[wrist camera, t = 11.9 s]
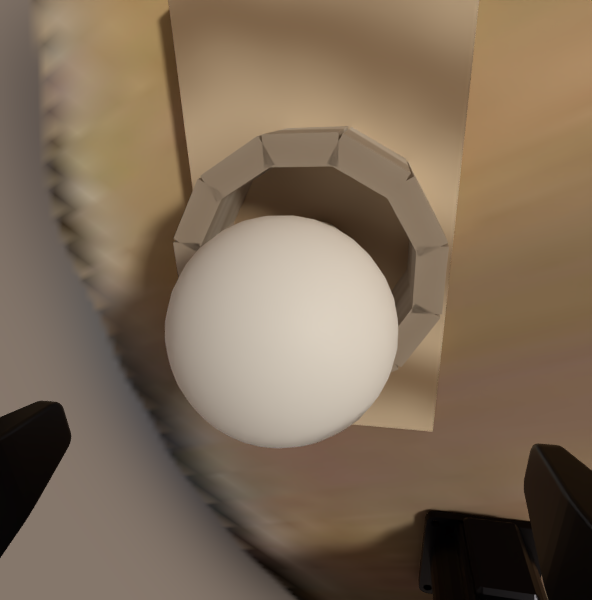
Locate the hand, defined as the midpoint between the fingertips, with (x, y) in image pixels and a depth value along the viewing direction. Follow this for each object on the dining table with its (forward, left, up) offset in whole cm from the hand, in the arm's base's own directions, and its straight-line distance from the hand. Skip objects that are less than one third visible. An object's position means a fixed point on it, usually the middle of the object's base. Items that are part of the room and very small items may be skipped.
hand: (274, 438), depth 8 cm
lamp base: (0, +1, -13) cm, 13 cm away
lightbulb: (0, +1, -12) cm, 12 cm away
